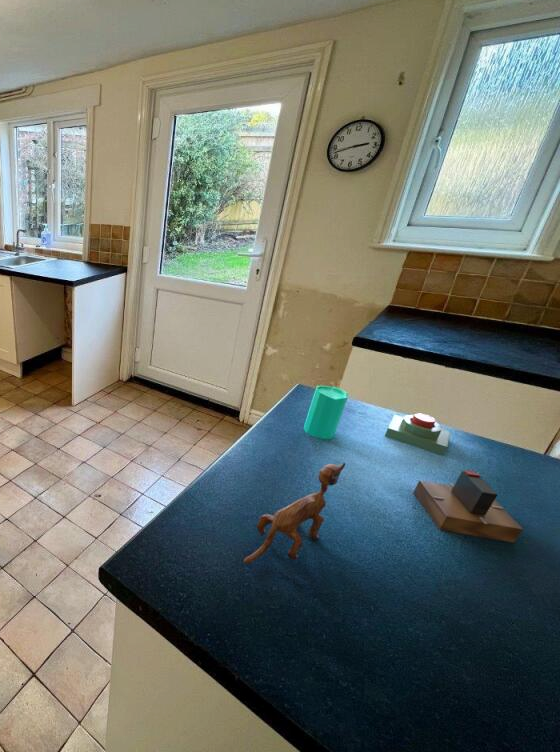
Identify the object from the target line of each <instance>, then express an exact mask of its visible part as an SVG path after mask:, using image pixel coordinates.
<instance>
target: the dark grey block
mask: <svg viewBox="0 0 560 752" xmlns="http://www.w3.org/2000/svg"><path fill="white" fill-rule="evenodd" d="M453 485H454V487H453V489H452V492H453V493H454V494H455V495H456V497H457V498H458V499H459V500H460V501H461V502H462V504H463V505H464V506H465V507H466V508H467V509H468V511H469V512H470V513H473V514H479V515H486V513H487V512H488V510H489V508H490V507H491V505H492V503H493V502H494V500H496V499H497V497H498V496H499V495H498V493H497V492H496V491H495V490H494V489H493V488H492V487H491V486H490V485H489V484H488V483H487V482H486V481H485V480H484V479H483V478H482V477H481V475H480V473H478V471H472V470H467V469H466V470H462V471H461V473H460V474H459V475H458V477H457V480H456V482H455V483H454V484H453Z"/></svg>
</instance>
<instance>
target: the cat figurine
mask: <svg viewBox="0 0 560 752" xmlns="http://www.w3.org/2000/svg"><path fill="white" fill-rule="evenodd" d="M345 467H346V463H345V462H344V463H342V464H341V465H340V466H339V465H338V464H334V463H327V464H325V465H323V467H322V468H321V469H320V470H319V474H318V476H317V478H318V481H319V483H320V490H319V491H318V492H314V493H310V494H308V495H307V496H305V497H304V496H303V497H302V498H300V499H297V500H294V501H293V503H290V504H289V505H287V506H285V507H283V508H281V509H280V508H279V509H278V510H277V511H275V513H274V514H273V515H272V514H271V513H270V514H269V513H267V514H262V515H261V516H260V518H259V520H258V522H257V524H256V529H257V531H258V533H259V535H260V536H261V537H262V536H264V535H266V533H267V530H266V529H265V528H266V527H267V526H268V525H270V524H271V528H269V532H268V534H267V537H266V538H265V540H264V542H263V543H262V545H261V546H260V547H258V549H257V550H255V551H254V552H253V553H252V554H250V555H248V556H247V557H245V558H244V559H243V564H245V565H247V564H250V563H252V562H253V561H255V560H256V559H258V558H260V557H261V556H262V555H263V554H264V553H265V552H266V551H267V550H268V549H269V547H270V546H271V544H272V543H273V542H274V539H275V537H276V534H277V532H280V533H282V534H284V535H286V536H287V537H288V538H290V539H291V540H292V541H293V543H292V545H291V547H290V548H289V550H288V552H287V557H288V558H289V559H290V560H293V561H296V560H297V559H298V558H299V555H297V552H298V551H299V550H300V549H301V548H302V546H303V543H304V541H303V536H302V535H301V534H300V533H299V530H298V529H299V527H300V526H301V525H302V524H304V523H305V522H306V521H308V520H312V524H311V526H310V528H309V531H308V537H309V538H310V539H312V540H317V539H319V538H320V536H319V535H318V533H319V530H320V528H321V527H322V524H323V522H324V521H325V518H324V517H323V516H322V515H321V514H320V513H321V512H322V511H323V509H324V508H325V507H326V504H327V502H326V500H325V497H324V495H325V493H326V492H327V491H328V487H330V486H335V485H336V484H338V480H339V477H340V476H341V473H342V471H343V470H344V469H345Z"/></svg>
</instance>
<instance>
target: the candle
mask: <svg viewBox="0 0 560 752" xmlns="http://www.w3.org/2000/svg"><path fill="white" fill-rule="evenodd" d="M348 396H349V393H348V392H347V391H345V390H344V389H342V388H339V387H336V386H335V384H333V386H328V385H316V387H315V391H314V394H313V397H312V400H311V403H310V406H309V409H308V413H307V415H306V419H305V422H304V426H303V431H305V433H307V434H308V435H309V436H312V437H313V438H318V439H321V440H330V439H332V438H334V437H335V434H336V431H337V428H338V425H339V422H340V420H341V417H342V414H343V411H344V408H345V406H346V403H347V401H348Z"/></svg>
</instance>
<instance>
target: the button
mask: <svg viewBox="0 0 560 752" xmlns="http://www.w3.org/2000/svg"><path fill="white" fill-rule="evenodd" d="M413 415H414V416H413V418H412V421H411V422H412V423H414V424H416V425H418V426H421V427H424V428H432V427H433V425H434V423H435V422H436V419H435V418H434V417H433V416H431V415H428V414H425V413H419V412H416V413H414V414H413Z"/></svg>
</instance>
